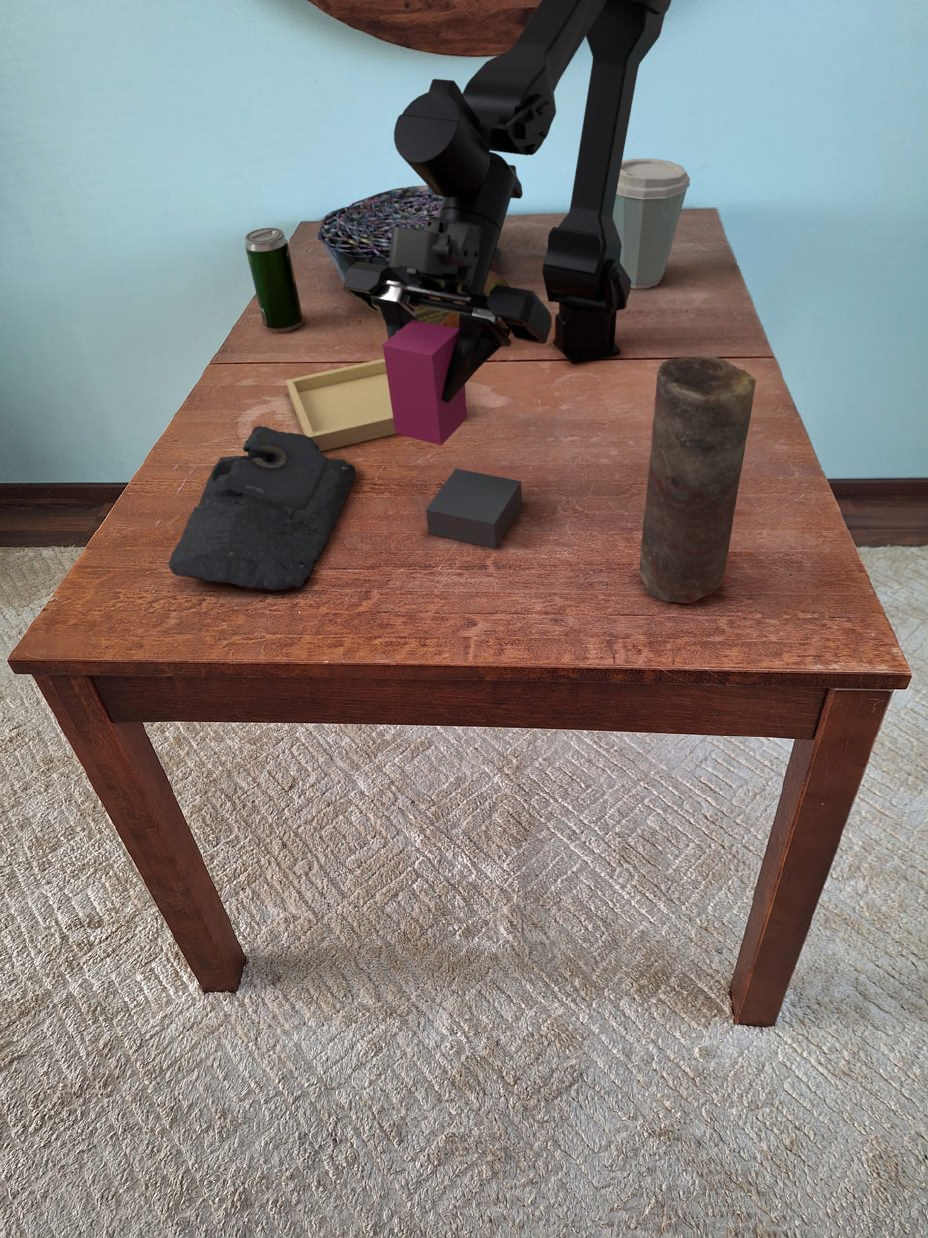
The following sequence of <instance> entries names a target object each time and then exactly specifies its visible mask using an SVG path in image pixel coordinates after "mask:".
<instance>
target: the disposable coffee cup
mask: <svg viewBox="0 0 928 1238" xmlns="http://www.w3.org/2000/svg"><path fill="white" fill-rule="evenodd" d="M690 179H691V177H690V176H689V174H688V172H687V171H686V169H685V168H684V166H683V165H680V164H678V163H676V162H673V161H671V160H665V159H664V160H663V159H658V158H657V159H656V158H631V159H625V160H622V164H621V170H620V176H619V181H618V187H617V193H616V199H615V204H614V210H613V220H614V223H615V226H616V229H617V232H618V234H619V237H620V240H621V244H622V247H621V256H620V263H621V265H622V266H623V268H624V270H625V271H626V273H627V274H628V276H629V278H630V279H631V287H630V289H634V290H641V289H650V288H653V287H655V286H657V285H658V284H659V283H660V282H661V281H662V278H663V277H664V274H665V271H666V268H667V264H668V260H669V256H670V254H671V253H670V252H671V249H672V245H673V242H674V238H675V235H676V231H677V228H678V227H677V226H678V223H679V219H680V216H681V212H682V208H683V204H684V201H685V198H686V194H687V190H688V189H689V187H691V184H690V181H691V180H690Z"/></svg>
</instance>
